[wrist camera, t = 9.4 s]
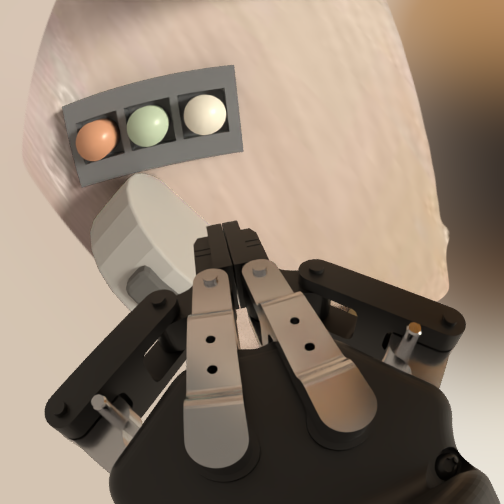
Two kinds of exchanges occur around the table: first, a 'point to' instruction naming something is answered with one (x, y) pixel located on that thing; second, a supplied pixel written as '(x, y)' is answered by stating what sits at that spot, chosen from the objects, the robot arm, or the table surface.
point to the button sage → (148, 125)
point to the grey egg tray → (178, 134)
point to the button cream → (204, 114)
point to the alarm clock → (146, 240)
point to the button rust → (97, 139)
